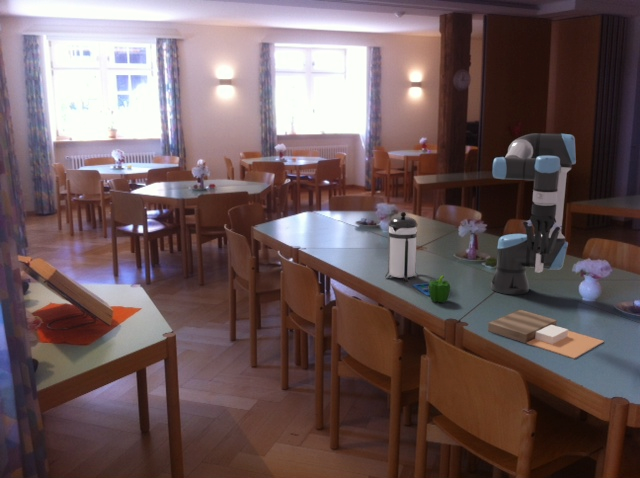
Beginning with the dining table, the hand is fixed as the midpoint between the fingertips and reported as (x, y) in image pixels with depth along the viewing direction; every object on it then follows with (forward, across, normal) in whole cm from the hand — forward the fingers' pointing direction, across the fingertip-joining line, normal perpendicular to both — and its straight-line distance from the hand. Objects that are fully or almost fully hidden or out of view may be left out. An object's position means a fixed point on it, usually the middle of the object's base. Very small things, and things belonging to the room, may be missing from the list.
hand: (538, 271), depth 202 cm
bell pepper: (+21, -40, 0) cm, 45 cm away
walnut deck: (+20, -2, -5) cm, 21 cm away
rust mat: (+20, +14, -5) cm, 25 cm away
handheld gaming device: (+22, -52, +8) cm, 57 cm away
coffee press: (+22, -71, +14) cm, 76 cm away
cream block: (+20, +9, -5) cm, 22 cm away
